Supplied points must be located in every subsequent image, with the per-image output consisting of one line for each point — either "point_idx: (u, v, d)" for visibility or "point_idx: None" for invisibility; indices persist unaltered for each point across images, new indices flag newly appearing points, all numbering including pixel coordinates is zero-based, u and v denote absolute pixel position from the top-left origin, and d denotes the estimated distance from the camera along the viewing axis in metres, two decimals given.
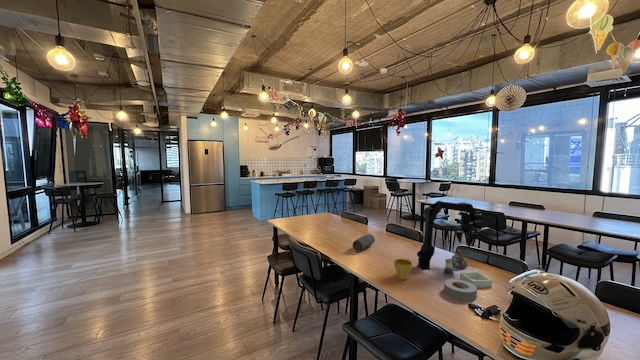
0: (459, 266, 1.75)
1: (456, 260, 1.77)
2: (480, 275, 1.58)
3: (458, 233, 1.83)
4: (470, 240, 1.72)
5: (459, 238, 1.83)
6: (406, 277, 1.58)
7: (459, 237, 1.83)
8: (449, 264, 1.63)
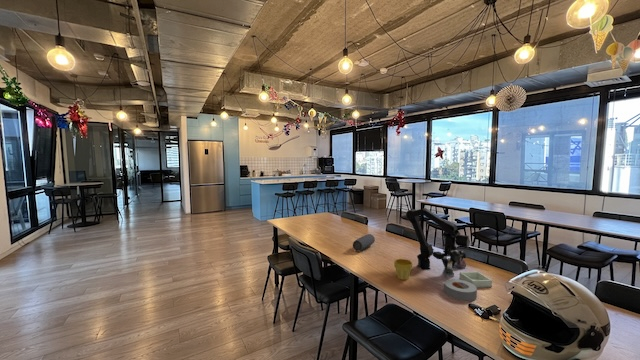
0: (457, 266, 1.76)
1: None
2: (480, 275, 1.58)
3: (451, 257, 1.66)
4: (444, 261, 1.65)
5: None
6: (406, 277, 1.58)
7: None
8: (449, 264, 1.63)
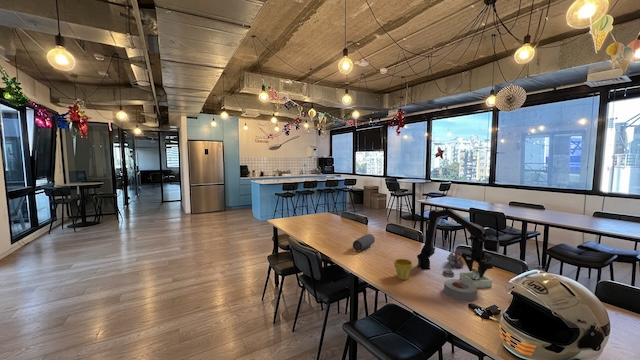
0: (454, 265, 1.77)
1: (452, 259, 1.79)
2: None
3: (468, 260, 1.59)
4: (482, 270, 1.49)
5: (469, 266, 1.58)
6: (406, 277, 1.58)
7: (469, 265, 1.59)
8: None
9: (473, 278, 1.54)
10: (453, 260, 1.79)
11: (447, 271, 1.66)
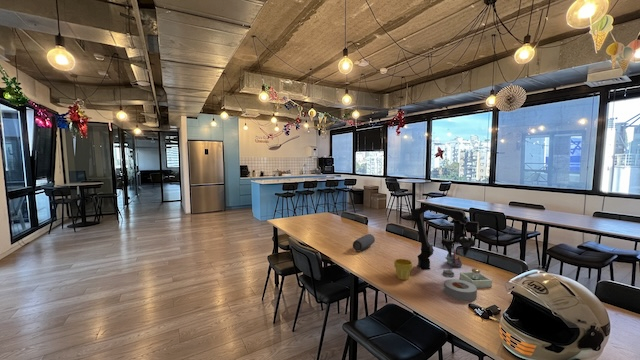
0: (452, 264, 1.77)
1: (450, 258, 1.80)
2: (480, 275, 1.58)
3: None
4: (448, 248, 1.62)
5: (464, 250, 1.64)
6: (406, 277, 1.58)
7: (464, 249, 1.64)
8: None
9: (473, 278, 1.54)
10: (451, 260, 1.79)
11: (447, 271, 1.66)
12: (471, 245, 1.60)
